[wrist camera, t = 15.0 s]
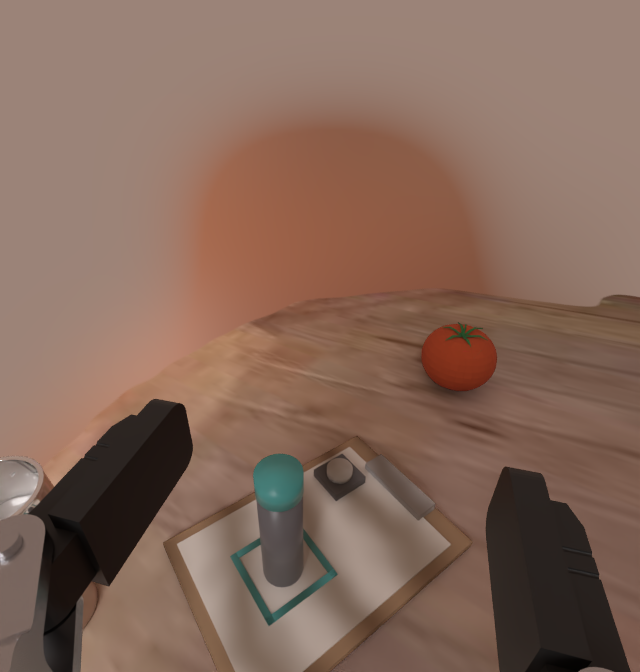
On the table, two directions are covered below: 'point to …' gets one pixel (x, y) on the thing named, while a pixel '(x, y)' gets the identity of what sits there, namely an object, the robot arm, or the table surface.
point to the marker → (280, 517)
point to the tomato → (459, 357)
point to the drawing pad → (315, 566)
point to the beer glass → (32, 504)
